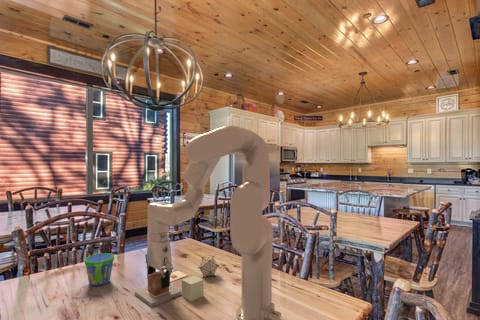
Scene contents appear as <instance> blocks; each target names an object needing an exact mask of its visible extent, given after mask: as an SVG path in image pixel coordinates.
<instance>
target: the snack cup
mask: <svg viewBox="0 0 480 320" xmlns="http://www.w3.org/2000/svg"><path fill="white" fill-rule="evenodd" d="M114 261H115V255H114V254H113V253H109V252H102V253H96V254H91V255H89V256H88V257H85V258H84V265H85V266H86V275H87V280H88V284H89V286H94V287H100V286H105V285H106V284H108V283H109V282H110V280H111V277H112V271H113V263H114Z"/></svg>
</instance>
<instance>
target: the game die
mask: <svg viewBox="0 0 480 320" xmlns="http://www.w3.org/2000/svg"><path fill="white" fill-rule="evenodd" d="M214 257H215V255H212V256H210V257H203V256H201V259H202V260H201V262H200V264H199V266H198V267H197V269H199V271H200V272H201V274H202V275H203V276H202V279H204V278H205V277H207V276H213V277H216V272H217V269H218V267H220V264H218V263H217V262H216V260H215V258H214Z"/></svg>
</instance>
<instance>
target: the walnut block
mask: <svg viewBox="0 0 480 320" xmlns="http://www.w3.org/2000/svg"><path fill="white" fill-rule="evenodd" d="M165 272H166V271H164V273H165ZM161 277H162V274H161V271H160V270H157V271H156V272H155V273H152V274H149V275H148V280H147V287H148V292H150V293H151V294H153V295H154V296H158V295H160V294H163V293H165V292H168V291H169V286H168V287H166V288H163V289H162V288H161Z"/></svg>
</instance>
